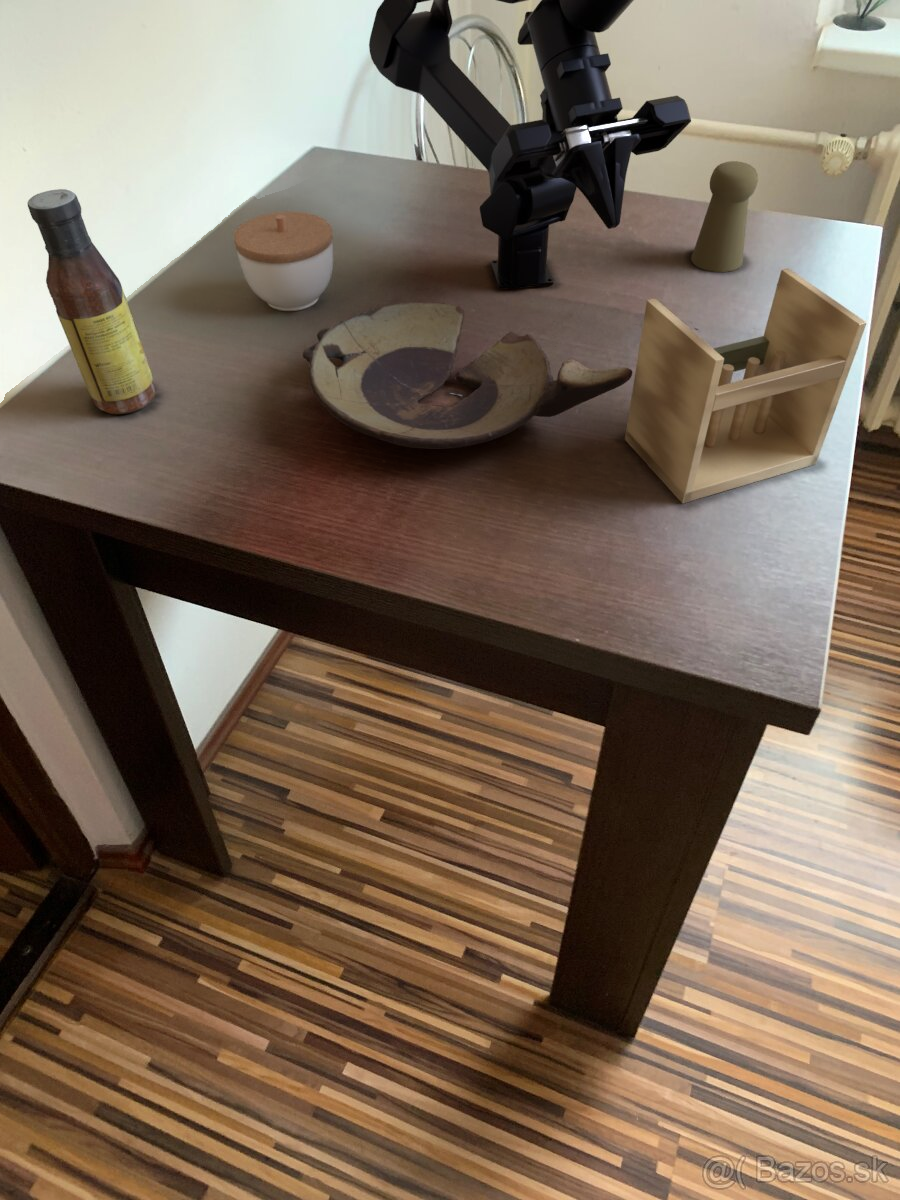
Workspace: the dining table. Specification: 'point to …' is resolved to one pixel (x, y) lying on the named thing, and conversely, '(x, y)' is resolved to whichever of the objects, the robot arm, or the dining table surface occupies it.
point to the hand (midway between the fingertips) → (614, 226)
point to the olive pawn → (726, 218)
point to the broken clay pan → (440, 378)
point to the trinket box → (286, 258)
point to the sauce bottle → (92, 307)
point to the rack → (740, 393)
